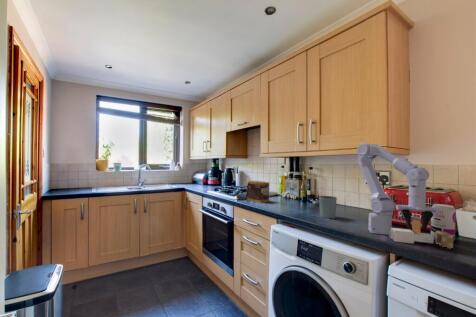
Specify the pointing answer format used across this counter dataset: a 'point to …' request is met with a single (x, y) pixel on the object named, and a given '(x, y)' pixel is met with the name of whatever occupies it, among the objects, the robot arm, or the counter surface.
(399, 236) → the white rectangular block
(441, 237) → the oak socket
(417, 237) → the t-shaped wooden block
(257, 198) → the supplement box
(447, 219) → the supplement can
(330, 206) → the grey tapered cup
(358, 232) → the counter surface
